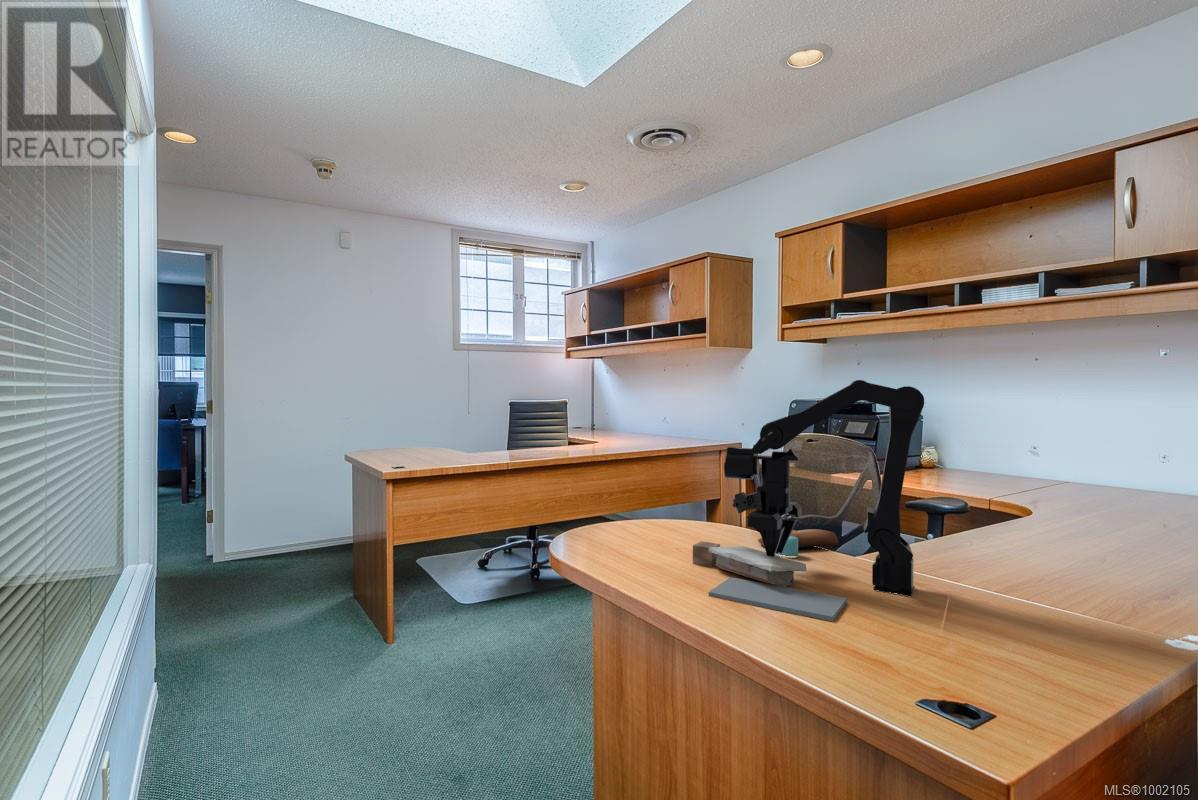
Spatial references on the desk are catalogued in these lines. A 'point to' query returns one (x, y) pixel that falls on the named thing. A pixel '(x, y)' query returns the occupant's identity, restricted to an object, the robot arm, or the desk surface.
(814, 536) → the sweet potato
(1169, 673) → the desk surface
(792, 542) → the teal cylinder
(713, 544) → the walnut block
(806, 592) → the mat
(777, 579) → the light grey block
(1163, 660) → the desk surface
